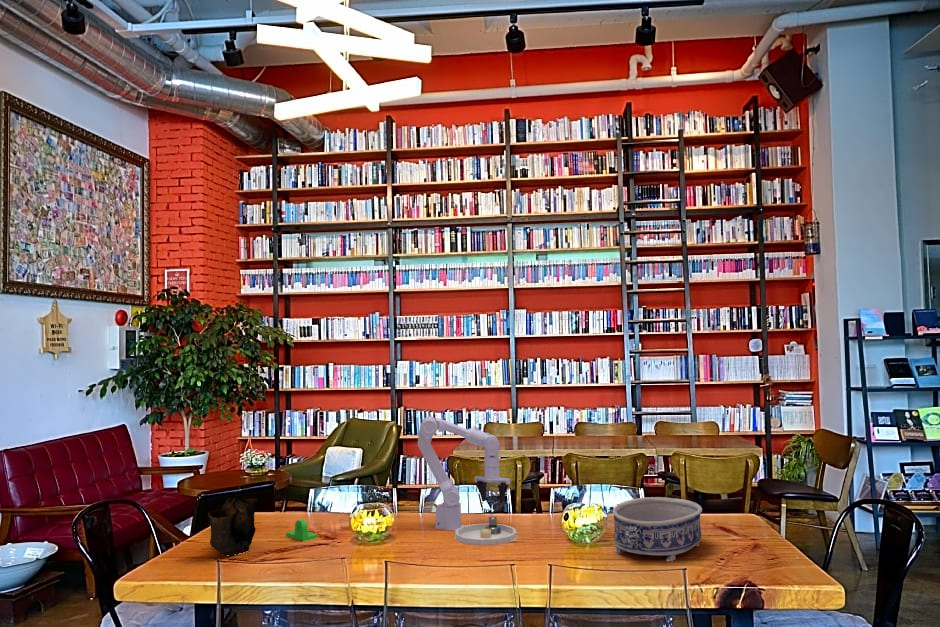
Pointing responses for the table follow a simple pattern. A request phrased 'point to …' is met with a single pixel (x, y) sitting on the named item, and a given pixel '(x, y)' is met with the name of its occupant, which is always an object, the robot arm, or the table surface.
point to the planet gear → (493, 525)
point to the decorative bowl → (657, 526)
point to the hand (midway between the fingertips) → (492, 501)
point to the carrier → (484, 535)
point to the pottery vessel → (233, 525)
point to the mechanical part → (301, 531)
